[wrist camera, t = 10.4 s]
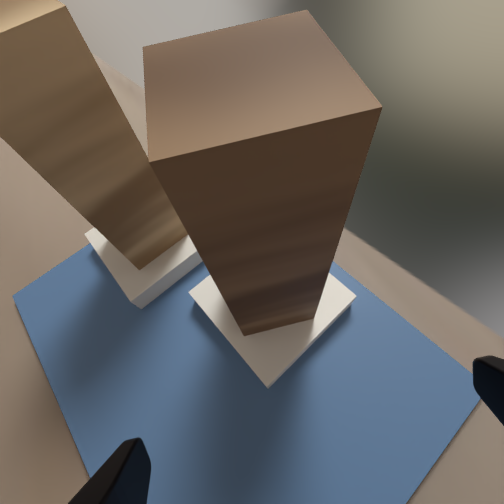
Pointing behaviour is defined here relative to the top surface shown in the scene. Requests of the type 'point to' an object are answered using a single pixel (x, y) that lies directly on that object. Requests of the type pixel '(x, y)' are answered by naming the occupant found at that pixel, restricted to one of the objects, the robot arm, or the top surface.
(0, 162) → the top surface
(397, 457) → the mat
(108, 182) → the oak pillar
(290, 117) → the walnut pillar
